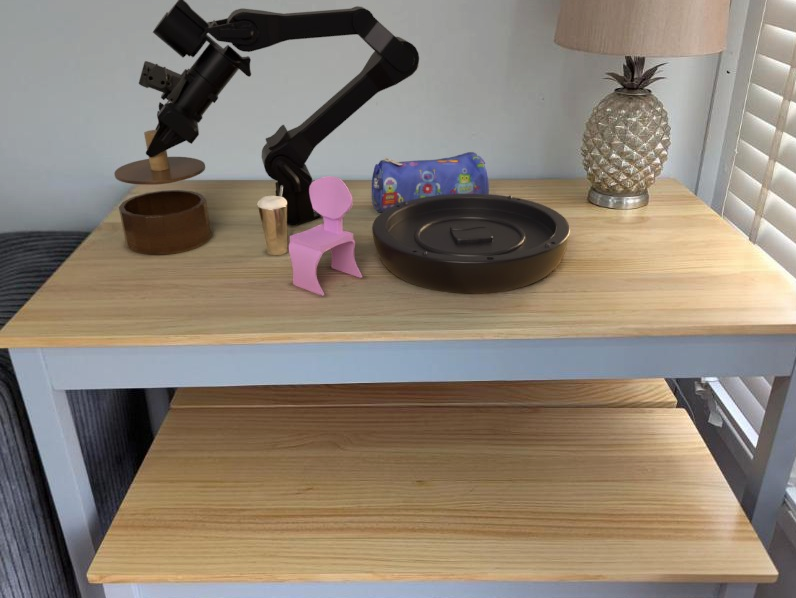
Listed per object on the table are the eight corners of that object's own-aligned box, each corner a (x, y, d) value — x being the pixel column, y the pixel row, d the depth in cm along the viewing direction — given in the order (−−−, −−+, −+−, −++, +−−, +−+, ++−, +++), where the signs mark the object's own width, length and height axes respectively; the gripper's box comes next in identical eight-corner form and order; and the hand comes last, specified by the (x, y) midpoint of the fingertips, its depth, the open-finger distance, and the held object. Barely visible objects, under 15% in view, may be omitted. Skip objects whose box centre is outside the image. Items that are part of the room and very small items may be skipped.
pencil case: (375, 220, 137) (373, 166, 132) (366, 204, 144) (363, 153, 139) (493, 208, 141) (495, 156, 137) (478, 194, 149) (480, 144, 144)
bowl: (216, 224, 136) (210, 188, 133) (203, 253, 125) (197, 215, 121) (137, 227, 136) (130, 191, 133) (117, 256, 124) (109, 218, 121)
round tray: (363, 231, 132) (387, 307, 106) (362, 197, 129) (386, 266, 103) (533, 219, 136) (596, 289, 110) (535, 185, 133) (600, 250, 107)
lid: (218, 163, 135) (212, 122, 131) (185, 189, 122) (178, 144, 119) (139, 162, 137) (131, 120, 133) (99, 187, 124) (89, 142, 121)
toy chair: (285, 284, 114) (275, 183, 106) (328, 265, 119) (321, 169, 112) (325, 299, 109) (318, 195, 101) (367, 279, 115) (363, 179, 107)
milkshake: (299, 247, 126) (294, 187, 121) (281, 258, 122) (275, 197, 117) (276, 243, 128) (269, 183, 123) (257, 254, 124) (250, 193, 119)
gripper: (165, 34, 128) (110, 108, 131) (162, 50, 112) (98, 133, 116) (221, 81, 133) (166, 150, 137) (224, 103, 118) (162, 180, 121)
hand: (148, 152), depth 127 cm, fingers closed on lid, 3 cm apart
